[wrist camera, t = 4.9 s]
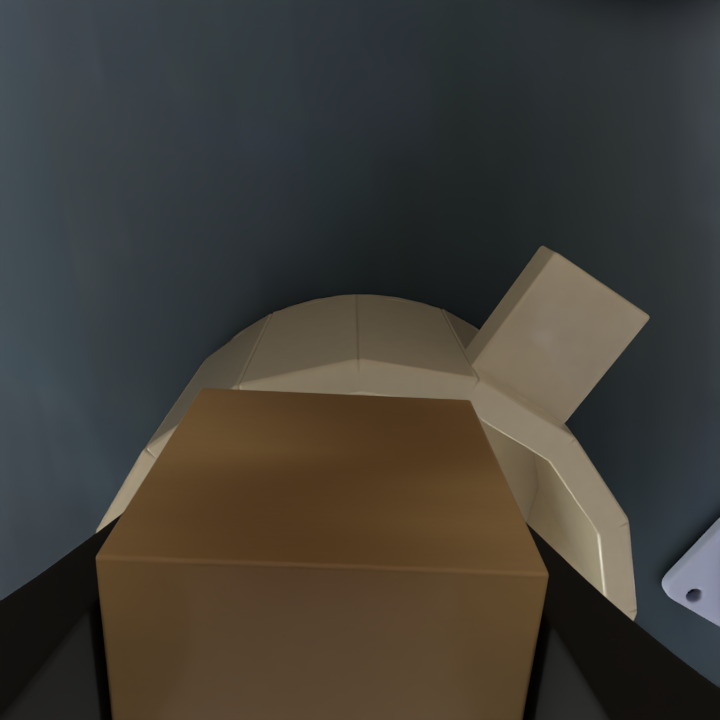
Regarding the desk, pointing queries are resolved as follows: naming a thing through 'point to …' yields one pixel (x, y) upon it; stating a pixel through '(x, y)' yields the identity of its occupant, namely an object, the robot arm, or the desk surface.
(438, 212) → the desk surface
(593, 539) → the pot
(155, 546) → the block
